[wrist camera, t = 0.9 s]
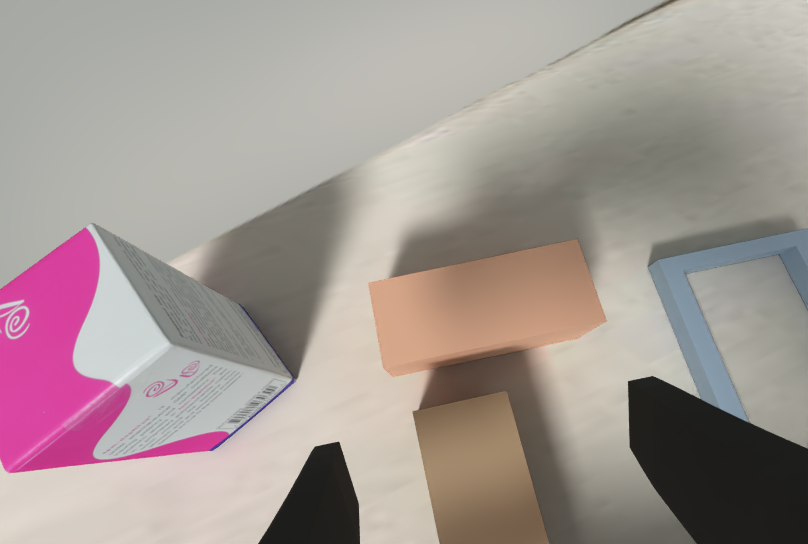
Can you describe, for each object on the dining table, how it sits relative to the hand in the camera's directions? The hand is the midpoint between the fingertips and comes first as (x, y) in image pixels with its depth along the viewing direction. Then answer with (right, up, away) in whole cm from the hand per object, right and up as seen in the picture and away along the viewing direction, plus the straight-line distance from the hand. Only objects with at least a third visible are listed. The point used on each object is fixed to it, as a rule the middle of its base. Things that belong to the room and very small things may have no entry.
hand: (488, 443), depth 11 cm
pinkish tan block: (+2, +1, +13) cm, 14 cm away
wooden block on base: (+2, -8, +10) cm, 13 cm away
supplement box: (-12, -1, +14) cm, 18 cm away
